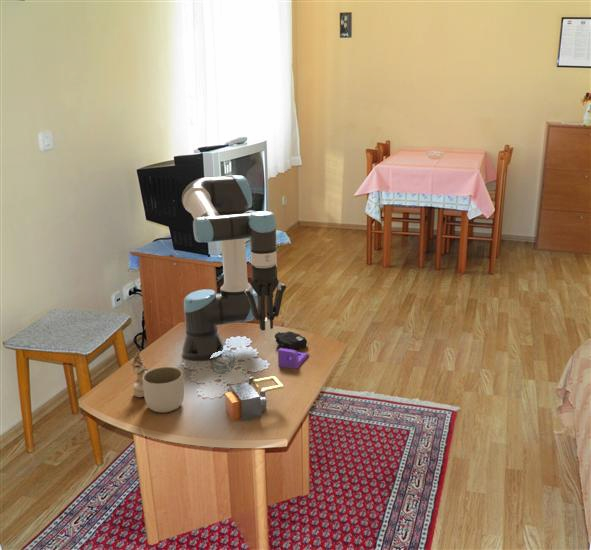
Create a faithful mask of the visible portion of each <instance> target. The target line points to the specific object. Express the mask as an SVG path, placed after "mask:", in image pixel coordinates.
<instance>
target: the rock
mask: <svg viewBox="0 0 591 550" xmlns="http://www.w3.org/2000/svg"><path fill="white" fill-rule="evenodd" d="M274 338H275V342H276V344H277V345H278V346H280V347H281V348H284V349H291V350H295V351H297V352H299V350H302V349H304V348H306V347H307V344H308V341H307V339H306V338H305V337H304V336H302V335H301V334H300V333H296V332H293V331H286V332H280V331H278V332H277V333H275V334H274Z"/></svg>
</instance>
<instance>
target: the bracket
mask: <svg viewBox="0 0 591 550" xmlns="http://www.w3.org/2000/svg"><path fill="white" fill-rule="evenodd" d="M309 356H310V353H306V352H300V351H295V350H291V349H286V348H284V347H280V348H278V349H277V359H278V361H277V363H278V365H277V366H278V367H283V368H289V369H293V370H294V369H295V370H297V369H298V368H299V366H301V364H302V363H304V362H305V360H306V359H307V358H308V357H309Z"/></svg>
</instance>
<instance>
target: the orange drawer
mask: <svg viewBox="0 0 591 550" xmlns="http://www.w3.org/2000/svg"><path fill="white" fill-rule="evenodd" d="M224 395H225V397H224V398H225V410H226V412H227V413H228V415H229V416H230V418H231V420H232V421H239V420H241V413H240V401H239V399H238V398H237V397H236V395H235V394H234V393H233V391H232V392H231V391H229V392H228V391H227V392H225V393H224ZM263 411H267V398H266V397H262V398H261V412H263Z"/></svg>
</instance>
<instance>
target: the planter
mask: <svg viewBox="0 0 591 550" xmlns="http://www.w3.org/2000/svg"><path fill="white" fill-rule="evenodd" d="M142 381H143V390H144V396H143V397H144V401H145V403H146V406H147V407H148V408H149V409H150V410H151V411H152V412H155V413H159V414H160V413H162V414H163V413H169V412H173V411H175V410H177V409H178V408H179V407H180V406H181V405H182V404H183V401H184V399H185V398H184V397H185V385H184V383H185V382H184V373H183V370H181V369H180V368H177V367H174V366H160V367H155V368H152V369H148V371H147V372H146V373H145V374H144V375H143V376H142Z"/></svg>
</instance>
